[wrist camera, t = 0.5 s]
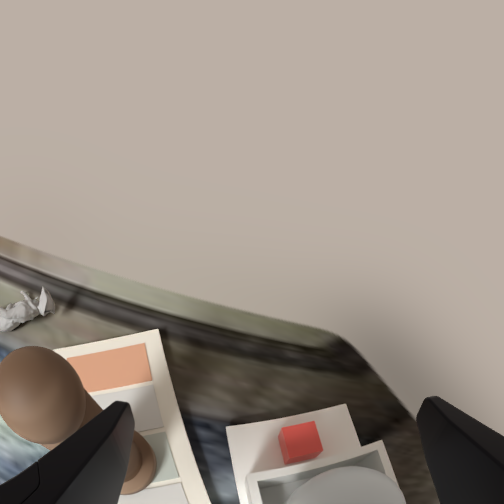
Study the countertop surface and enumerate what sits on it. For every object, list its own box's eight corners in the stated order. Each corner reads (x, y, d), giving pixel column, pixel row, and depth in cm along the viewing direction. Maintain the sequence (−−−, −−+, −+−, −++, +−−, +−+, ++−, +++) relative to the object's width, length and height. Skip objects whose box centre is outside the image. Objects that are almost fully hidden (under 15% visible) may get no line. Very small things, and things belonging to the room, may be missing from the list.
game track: (253, 595, 11) (254, 598, 10) (110, 612, 8) (105, 615, 7) (160, 335, 27) (157, 328, 26) (57, 355, 24) (53, 349, 23)
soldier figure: (-11, 306, 28) (56, 264, 29) (4, 344, 28) (73, 307, 29) (-53, 313, 20) (13, 263, 21) (-37, 359, 20) (33, 318, 21)
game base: (392, 562, 12) (431, 564, 8) (263, 600, 10) (271, 621, 7) (342, 408, 22) (365, 376, 19) (226, 430, 21) (223, 403, 17)
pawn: (165, 489, 16) (78, 430, 7) (96, 498, 14) (-38, 435, 6) (147, 424, 19) (72, 305, 11) (83, 434, 18) (-25, 325, 9)
